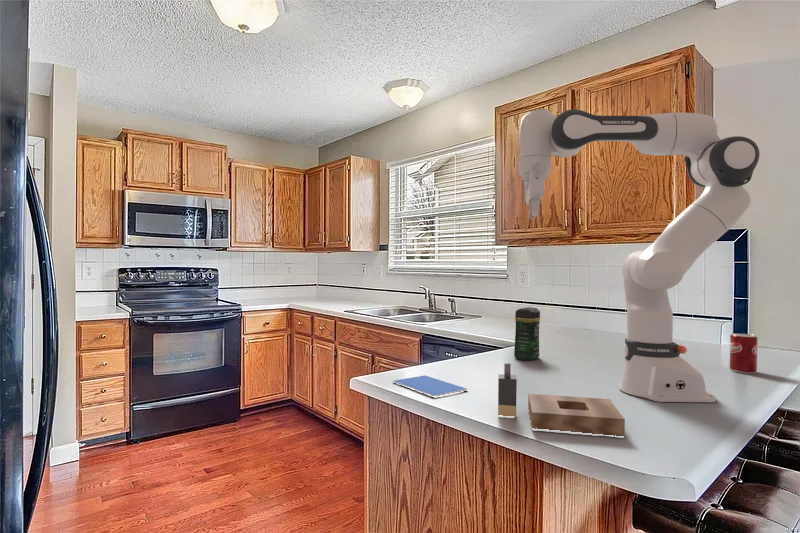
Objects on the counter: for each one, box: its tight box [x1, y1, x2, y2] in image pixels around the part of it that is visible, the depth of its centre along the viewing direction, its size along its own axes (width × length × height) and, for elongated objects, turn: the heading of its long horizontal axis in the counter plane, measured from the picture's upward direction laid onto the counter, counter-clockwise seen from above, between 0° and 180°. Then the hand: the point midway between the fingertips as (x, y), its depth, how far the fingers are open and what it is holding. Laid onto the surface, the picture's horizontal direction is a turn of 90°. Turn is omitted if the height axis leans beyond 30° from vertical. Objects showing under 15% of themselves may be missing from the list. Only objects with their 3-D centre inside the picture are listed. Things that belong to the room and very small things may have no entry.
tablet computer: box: [392, 375, 469, 396], centre depth 133 cm, size 19×13×1 cm, turn 36°
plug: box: [497, 362, 518, 417], centre depth 109 cm, size 4×4×12 cm
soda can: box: [729, 332, 759, 375], centre depth 155 cm, size 7×7×12 cm
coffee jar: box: [513, 306, 541, 361], centre depth 173 cm, size 10×8×19 cm
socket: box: [527, 393, 626, 437], centre depth 104 cm, size 18×14×4 cm
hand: (534, 217), depth 135 cm, fingers open, 8 cm apart
